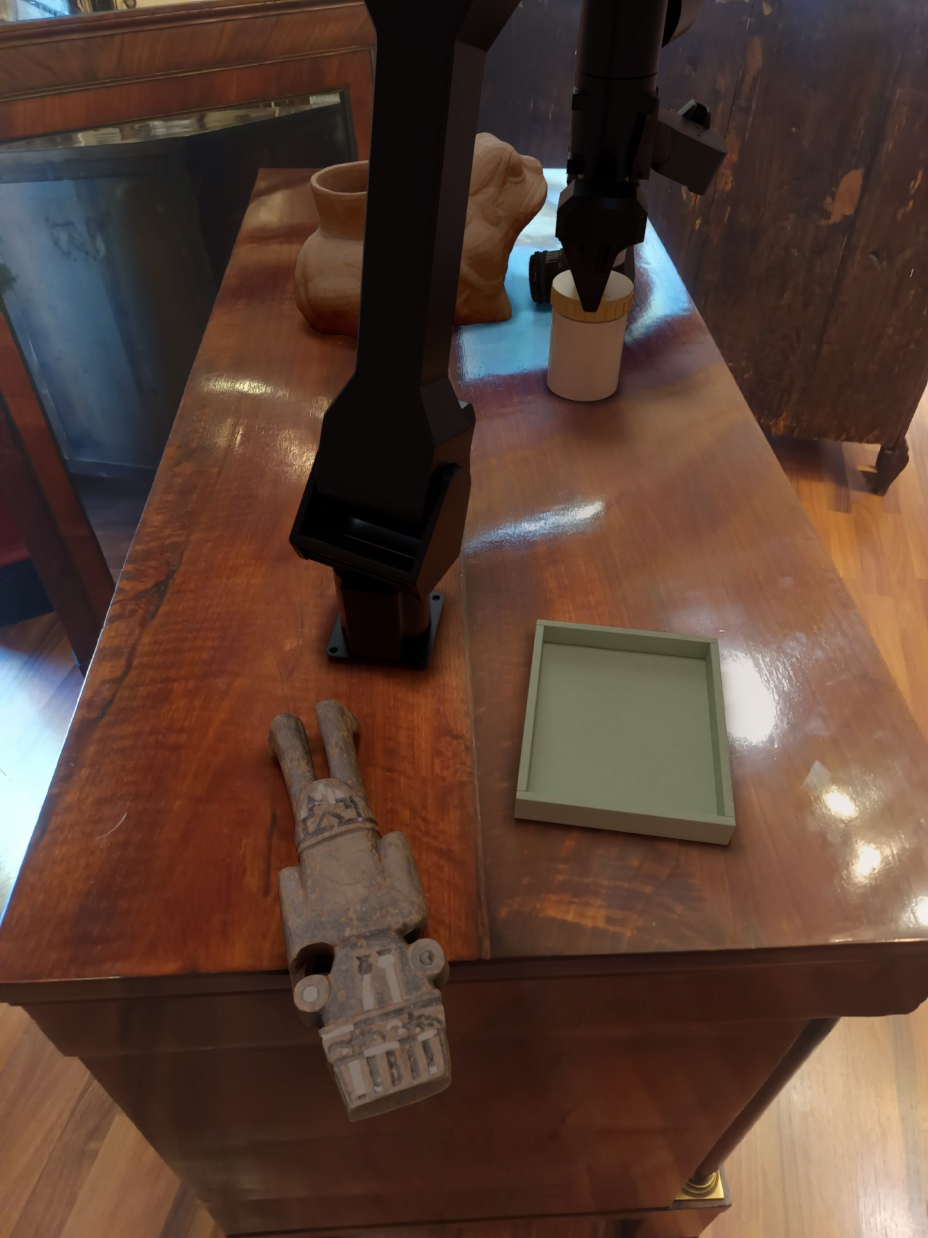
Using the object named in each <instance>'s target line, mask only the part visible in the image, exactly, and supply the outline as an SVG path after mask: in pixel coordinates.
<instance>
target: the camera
mask: <svg viewBox="0 0 928 1238" xmlns="http://www.w3.org/2000/svg"><path fill="white" fill-rule="evenodd" d="M635 263H636V261H635V245H634V246H629V247H628V248H626V249H625V250H623V251H622V252H620V253H619V254H618V256H617V257H616V260H615V263H614V265H613V268H612V271H615V272H618V273H620V274H623V275H624V276H626V277H628V278H629V279H630V280H631V281H632V283H633V286H634V288H633V290H634V289H635V283H636V276H637V275H636V264H635ZM568 270H570V268H569V265H568V262H567V259H566V256H565V253H564V251H563V248H562V247H560V249H553V250H548V249H543V250H542V251H540V250H536V251H534V253H533V254H531V255H530V256H529V259H528V286H529V292H530V293H529V294H530V297H531V300H532V302H533V303H536V304H537V305H542V304H545V305H548V304H549V305H550V304H551V303H550V299H551V290H552V284H553V280H554V278H555V277H556V276H557V275H559V274H560V273H562V272H565V271H568ZM630 313H631V309H630V310H629V312H628V316H627V323H626V327H628V325H629V319H630Z"/></svg>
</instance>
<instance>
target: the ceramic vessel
mask: <svg viewBox="0 0 928 1238" xmlns="http://www.w3.org/2000/svg"><path fill="white" fill-rule="evenodd" d="M368 160H369V159H366V160H359V161H351V162H345V163H340V164H334V165H331V166H327V167H325V168H323V169H320V170H319V171H317V172H314V174H312V176H311V177H310V181H309V185H310V189H311V193H312V197H313V200H314V204H315V207H316V210H317V213H318V218H319V226H318V227H317V229H316V230H315V232H313V233H312V234H310V236H309V237H307V239H306V240H305V242H304V244H303V246H302V248H301V249H300V251H299V252H298V255H297V257H296V267H295V270H294V275H293V280H294V298H295V306H296V308H297V309H298V311H299V312H300V314H302V317H303V318H304V320H305V321H306V322H307V323H308V325H309V328H310V329H311V330H313V331H314V332H316V333H317V334H319V335H321V336H322V335H323V336H342V337H347V338H350V339H353V340H354V341H357V337H358V321H359V305H360V289H361V273H362V257H363V241H364V225H365V209H366V193H367V177H368ZM544 175H545V174H544V168H543V165H542V163H541V161H540V160H539V159H537V158H535V157H533V156H530V155H524V154H523V155H522V154H519V153H518V151H517V150H516V149H515V147H514V146H512V145H511V144H510V143H508V142H507V141H502V140H500V139H499V138H498V137H497V136H496V135H494V134H492V133H490V132H480V133H476V139H475V148H474V156H473V165H472V173H471V181H470V190H469V198H468V207H467V215H466V224H465V232H464V240H463V249H462V257H461V266H460V274H459V283H458V291H457V300H456V308H455V316H454V325H453V328H458V327H465V326H473V325H482V324H495V323H503V322H507V321H509V320H511V319H512V318H513V307H512V304H511V301H510V299H509V297H508V295H507V290H506V286H505V281H506V276H507V272H508V270H509V260H510V256H511V253H512V252H513V249H514V247H515V244H516V242H517V240H518V238H519V236H520V235H521V233H522V232H523V231H524V230H525V229H526V227H527V226H529V224H530V223H531V222H532V221H533V220H534V219H535V217H536V216H537V215H538V214H539V213H540V212H541V210H542V209H543V208H544V206H545V204H546V201H547V199H548V190H549V189H548V182H547V180H546V177H545V176H544Z"/></svg>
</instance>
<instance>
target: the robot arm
mask: <svg viewBox="0 0 928 1238" xmlns="http://www.w3.org/2000/svg"><path fill="white" fill-rule="evenodd" d="M521 1H522V0H362V2H363V5H364V8H365V10H366V13H367V15H368V18H369V21H370V23H371V26H372V28H373V30H374V33H375V34H374V37H375V38H374V39H375V45H374V46H375V47H374V64H373V65H374V67H373V80H372V83H373V84H372V96H371V97H372V98H371V112H370V113H371V114H370V130H369V145H368V146H369V147H368V159H367V160H368V177H367V193H366V209H365V225H364V241H363V257H362V273H361V289H360V305H359V321H358V337H357V340H356V354H355V355H356V356H355V364H354V370H353V372H352V373H351V375H350V376H349V377H348V379H347V380H346V381H345V383H344V385H343V386H342V388H340V390H339V391H338V393H337V394H336V395H335V397H334V399H333V400H332V401H331V403H330V404H329V406H328V407H327V408H326V410H325V411H324V413H323V415H322V421H321V428H320V435H319V443H318V448H317V450H316V454H315V456H314V459H313V462H312V466H311V469H310V472H309V474H308V477H307V481H306V484H305V487H304V489H303V493H302V496H301V499H300V502H299V506H298V508H297V511H296V514H295V517H294V521H293V524H292V526H291V530H290V534H289V536H288V543H289V544H290V546H291V548H292V549H293V550H294V552H295V553H296V555H297V556H298V558H300V559H302V560H305V561H308V560H309V561H313V562H316V563H318V564H321V565H324V566H327V567H330V568H332V574H333V580H334V581H333V582H334V588H335V593H336V600H337V607H338V614H337V617H336V620H335V623H334V625H333V628H332V631H331V634H330V636H329V640H328V642H327V645H326V647H325V656H326V658H327V659H328V660H330V661H333V662H334V661H335V662H345V663H351V664H352V663H353V664H361V665H362V664H363V665H370V666H371V665H373V666H378V667H387V668H398V669H406V670H414V671H425V670H427V669H428V668H429V667H430V664H431V659H432V655H433V651H434V646H435V643H436V638H437V633H438V630H439V626H440V622H441V618H442V613H443V609H444V604H445V597H444V595H443V594H442V593H440V592H434V591H433V590H435V588H436V586H437V585H438V584H439V582H441V580H442V579H443V578H444V576H445V575H446V573H448V571H449V570H450V569H451V567H452V566H453V565H454V564H455V562H456V561H457V559H458V558H459V557H460V555H461V550H462V544H463V538H464V533H465V532H464V531H465V526H466V520H467V514H468V510H469V509H468V508H469V504H470V503H469V502H470V497H471V492H472V491H471V490H472V474H471V451H472V444H473V438H474V434H475V428H476V424H477V416H476V413H475V409H474V405H473V403H472V402H468V401H464V400H461V399H458V396H457V393H456V392H455V389H454V387H453V385H452V381H451V380H450V378H449V367H450V366H449V365H450V357H451V350H452V341H453V333H454V327H453V325H454V316H455V308H456V300H457V291H458V283H459V274H460V266H461V257H462V249H463V240H464V232H465V224H466V215H467V207H468V198H469V190H470V181H471V173H472V165H473V156H474V148H475V139H476V135H477V131H478V130H477V129H478V121H479V113H480V103H481V97H482V90H483V89H482V87H483V79H484V73H485V64H486V59H487V55H488V52H489V50H490V48H491V47H492V46H493V44H494V43H495V41H496V40H497V38H498V37H499V35H500V33H502V30H503V29H504V28H505V26H506V24H507V23H508V21H509V20H510V18H511V16H512V15H513V14H514V12H515V11H516V9H517V8H518V6H519V5H520V3H521ZM580 1H581V2H580V14H579V25H578V36H577V37H578V38H577V49H576V60H575V61H576V63H575V74H574V83H573V84H574V85H573V90H572V98H571V120H570V121H571V122H570V132H569V133H570V134H569V135H570V136H569V140H568V146H567V147H568V149H567V158H566V159H567V160H566V171H565V175H566V180H565V181H566V186H565V187H564V188H563V189H562V190H561V191H560V192H559V197H558V202H557V207H556V216H555V217H556V218H555V229H554V230H555V231H554V238H555V239H558V240H557V241H559V242H560V245H561V248H563V251H564V253H565V256H566V259H567V262H568V265H569V268H570V271H571V274H572V277H573V280H574V283H575V286H576V290H577V293H578V296H579V299H580V302H581V305H582V309H583V311H584V312H593V313H594V312H597V310H598V307H599V305H600V302H601V299H602V296H603V293H604V291H605V288H606V285H607V282H608V279H609V276H610V274H611V271H612V268H613V265H614V263H615V260H616V257H617V256H618V254H619V253H620V252H622V251H623V250H625V249H626V248H628V247H629V246H634V247H635V246H636V245H640V244H642V243H645V238H646V230H647V224H648V219H649V200H648V199H649V197H648V196H647V195H646V193H645V192H644V190H643V189H642V188H641V182H642V181H650V176H651V175H650V174H651V170H653V171H654V172H655V173H657V174H659V175H661V176H663V177H664V178H665V177H666V178H667V179H669V180H670V181H671V180H672V181H674V182H676V183H678V184H680V185H682V186H684V187H687V190H688V192H690V193H693V194H695V195H697V196H702V197H703V196H705V195H706V194H707V192H708V190H709V188H710V186H711V185H712V183H713V181H714V180H715V178H716V175H717V174H718V173H719V170H720V169H721V166H722V164H723V163H724V161H725V159H726V158H727V156H728V154H729V150H728V146H727V141H726V139H725V137H723V135H721V134H720V131H719V130H718V129H711V121H712V120H711V119H712V111H711V107H710V105H708V104H706V103H704V102H702V101H700V100H698V99H696V98H692V99H690V101H688V103H686V104H685V105H683V106H682V107H681V108H680V109H678V111H677V110H676V109H674V108H671V109H670V110H669V109H666V108H664V107H662V106H660V105H661V103H660V102H661V99H660V97H659V91H660V87H659V85H657V81H658V76H659V67H660V59H661V52H662V49H663V48H665V47H667V46H668V45H670V44H672V43H673V42H674V41H676V40H677V39H679V38H680V37H682V36H683V35H684V34H685V33H686V32H687V31H689V30H690V29H691V28H692V26H693V25H694V24H695V23H696V20H697V19H698V17H699V15H700V14H701V11H702V8H703V5H704V1H705V0H580Z"/></svg>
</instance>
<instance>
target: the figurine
mask: <svg viewBox="0 0 928 1238" xmlns="http://www.w3.org/2000/svg"><path fill="white" fill-rule="evenodd" d="M314 714H315V719H316V723H317V727H318V730H319V733H320V736H321V741H322V745H323V747H324V752H325V755H326V761H327V767H328V770H329V778H320V779H318V778H317V775H316V770H315V768H314V767H315V766H314V763H313V759H312V756H311V750H310V747H309V737H308V733H307V729H306V727H305V725H304V722H303V721H302V719H301V718H300V717H299V716H298V715H296V714H293V713H291V712H284V713H281V714H277V715H275V716H274V718H273V719H272V721H271V722H270V725H269V729H268V736H267V748H268V753H269V755H270V757H272V758H277V759H278V762H279V765H280V768H281V772H282V775H283V778H284V782H285V785H286V790H287V793H288V796H289V797H288V798H289V801H290V807H291V813H292V817H293V821H294V825H295V826H294V837H293V840H294V841H293V842H294V846H295V852H296V857H297V863H298V864H296V865H288V866H286V867H283V868H282V869H280V871H279V872H278V875H277V888H278V903H279V913H280V922H281V928H282V936H283V944H284V949H285V956H286V963H287V969H288V972H289V979H290V984H291V989H292V997H293V1003H294V1006H295V1009H296V1011H297V1014H298V1017H299V1020H300V1022H301V1023H302V1024H303V1025H305V1026H306V1027H308V1028H314V1029H318V1035H319V1039H320V1043H321V1051H322V1053H323V1055H324V1057H325V1061H326V1066H327V1069H328V1072H329V1075H330V1078H331V1080H332V1082H334V1084H335V1089H336V1091H337V1095H338V1097H339V1100H340V1103H341V1105H342V1108H343V1110H344V1113H345V1115H346V1118H347V1120H348V1121H349V1122H351V1123H355V1122H359V1121H362V1120H366V1119H369V1118H372V1117H376V1116H380V1115H383V1114H386V1113H389V1112H392V1111H394V1110H397V1109H400V1108H403V1107H406V1106H410V1105H413V1104H416V1103H418V1102H421V1101H423V1100H426V1099H428V1098H431V1097H433V1096H435V1095H438V1094H441V1093H443V1092H444V1091H445V1090H446V1089H448V1088H449V1086H451V1084H452V1079H453V1078H452V1077H453V1076H452V1075H453V1074H452V1072H453V1071H452V1060H451V1059H452V1058H451V1052H450V1046H449V1040H448V1036H447V1024H446V1023H447V1022H446V1012H445V1007H444V1005H443V998H442V992H441V991H440V989H442V988H443V987H444V986H445V984H446V983H447V981H448V979H449V976H450V965H449V961H448V959H447V956H446V954H445V952H444V950H443V948H442V946H441V944H440V943H439V942H438V941H437V940H435V939H432V938H430V937H426V938H420V937H422V935H423V934H424V933H425V932H426V930H427V929H428V927H429V923H430V919H429V918H430V916H429V906H428V902H427V898H426V893H425V890H424V887H423V884H422V880H421V877H420V873H419V869H418V866H417V863H416V860H415V856H414V854H413V851H412V848H411V846H410V843H409V841H408V838H407V836H406V835H405V833H404V832H403V831H400V830H395V831H390V832H387V833H385V834H384V835H382V832H381V829H380V828H379V823H378V821H377V817H376V815H375V813H374V812H373V810H371V808H370V804H369V799H368V796H367V793H366V789H365V786H364V783H363V779H362V774H361V770H360V765H359V762H358V761H359V760H358V755H357V752H356V747H355V742H354V736H353V735H355V734H357V733H359V731H360V724H359V720H358V718H357V717H356V716H355V714H354V713H353V712H352V711H351V710H349V708H347V707H346V705H344V704H343V703H341V702H340V701H338V700H337V699H323V700H321V701H319V702H317V703H316V705H315V706H314ZM317 955H325V956H326V955H327V956H332V957H333V960H332V964H331V968H330V970H329V974H327V975H323V974H318V973H317V974H313V968H314V964H315V957H316V956H317Z"/></svg>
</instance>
